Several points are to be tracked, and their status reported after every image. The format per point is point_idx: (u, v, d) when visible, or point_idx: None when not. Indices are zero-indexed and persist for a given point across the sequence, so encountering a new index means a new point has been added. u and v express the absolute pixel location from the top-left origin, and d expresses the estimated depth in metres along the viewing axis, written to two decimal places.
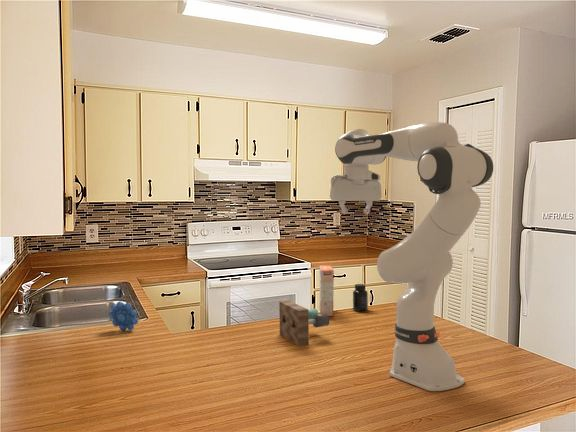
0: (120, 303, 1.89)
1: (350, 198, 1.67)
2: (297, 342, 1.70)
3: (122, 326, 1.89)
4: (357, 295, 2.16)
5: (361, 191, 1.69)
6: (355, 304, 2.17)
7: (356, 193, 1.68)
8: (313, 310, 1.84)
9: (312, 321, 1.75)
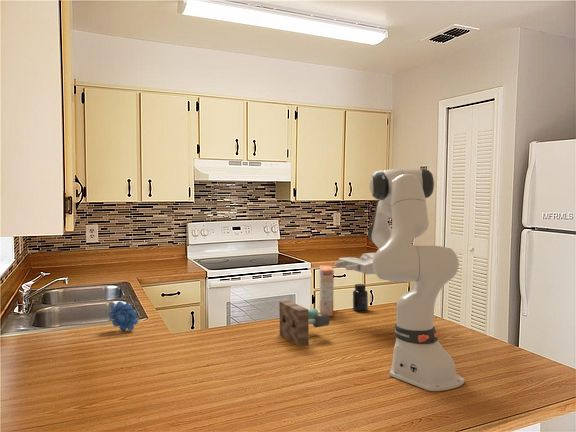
0: (120, 303, 1.89)
1: (347, 259, 1.96)
2: (297, 342, 1.70)
3: (122, 326, 1.89)
4: (357, 295, 2.16)
5: (359, 260, 1.93)
6: (355, 304, 2.17)
7: (354, 260, 1.94)
8: (313, 310, 1.84)
9: (312, 321, 1.75)
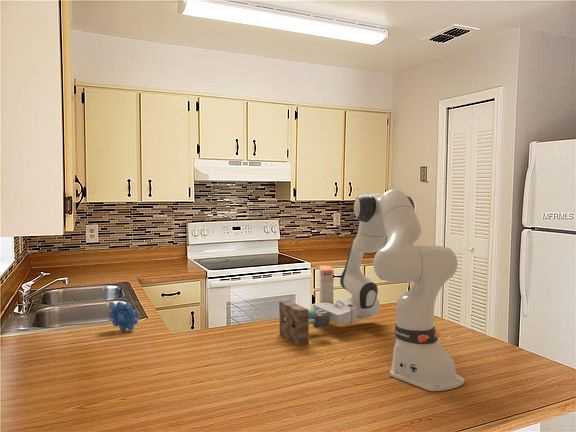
0: (120, 303, 1.89)
1: (321, 306, 1.91)
2: (297, 342, 1.70)
3: (122, 326, 1.89)
4: None
5: (333, 308, 1.88)
6: None
7: (328, 307, 1.89)
8: (311, 310, 1.84)
9: (312, 321, 1.75)
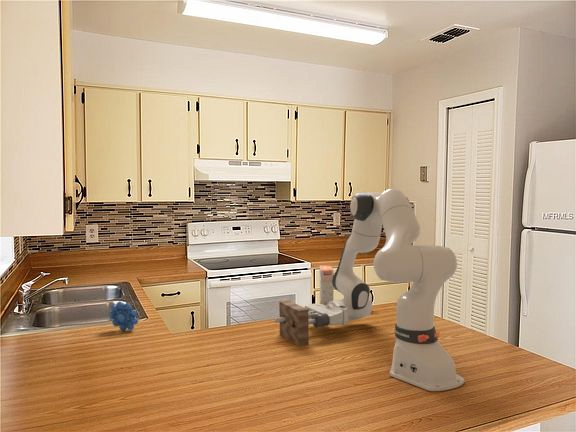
0: (120, 303, 1.89)
1: (313, 308, 1.89)
2: (297, 342, 1.70)
3: (122, 326, 1.89)
4: None
5: (324, 309, 1.86)
6: None
7: (320, 308, 1.88)
8: None
9: (312, 321, 1.75)
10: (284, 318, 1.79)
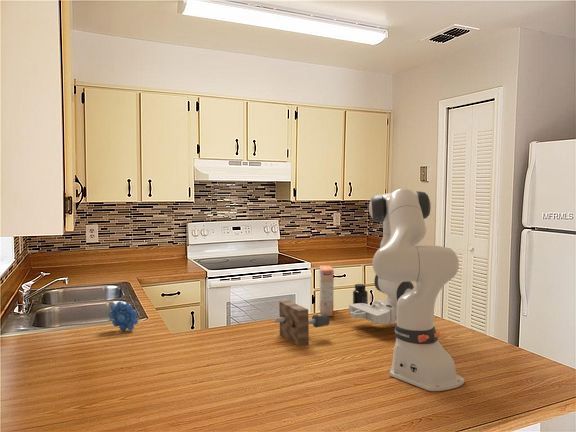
0: (120, 303, 1.89)
1: (358, 307, 1.90)
2: (297, 342, 1.70)
3: (122, 326, 1.89)
4: (357, 295, 2.16)
5: (371, 309, 1.87)
6: None
7: (366, 308, 1.88)
8: None
9: (312, 321, 1.75)
10: (284, 318, 1.79)
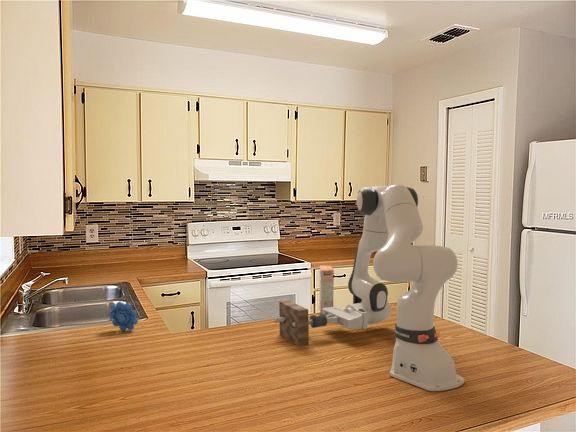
0: (120, 303, 1.89)
1: (331, 311, 1.84)
2: (297, 342, 1.70)
3: (122, 326, 1.89)
4: None
5: (343, 313, 1.81)
6: None
7: (338, 312, 1.82)
8: None
9: (309, 321, 1.75)
10: (284, 318, 1.79)
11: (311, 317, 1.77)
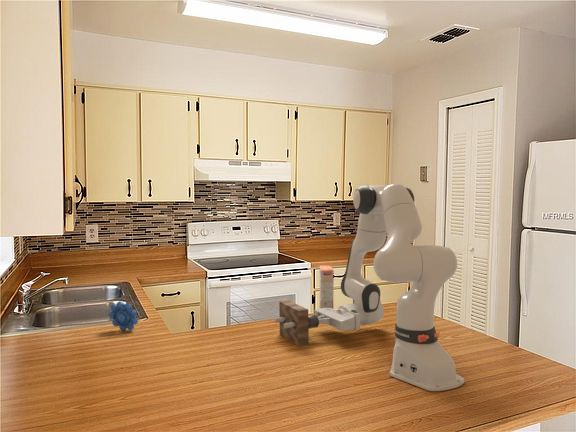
0: (120, 303, 1.89)
1: (323, 312, 1.82)
2: (297, 342, 1.70)
3: (122, 326, 1.89)
4: None
5: (335, 314, 1.79)
6: None
7: (331, 313, 1.80)
8: None
9: None
10: (284, 318, 1.79)
11: None
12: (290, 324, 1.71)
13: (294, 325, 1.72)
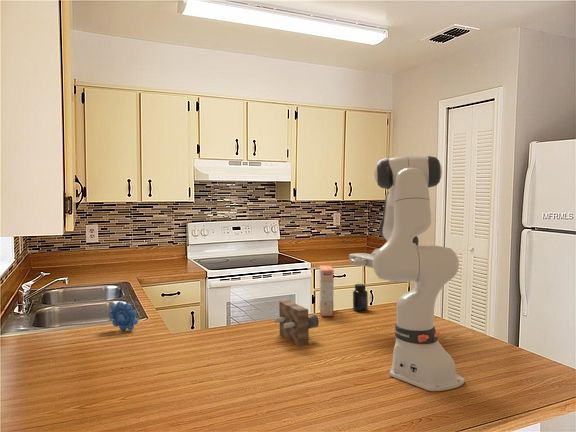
0: (120, 303, 1.89)
1: (358, 255, 1.88)
2: (297, 342, 1.70)
3: (122, 326, 1.89)
4: (357, 295, 2.16)
5: (371, 256, 1.86)
6: (355, 304, 2.17)
7: (366, 256, 1.87)
8: None
9: None
10: (284, 318, 1.79)
11: None
12: (290, 324, 1.71)
13: (294, 325, 1.72)
